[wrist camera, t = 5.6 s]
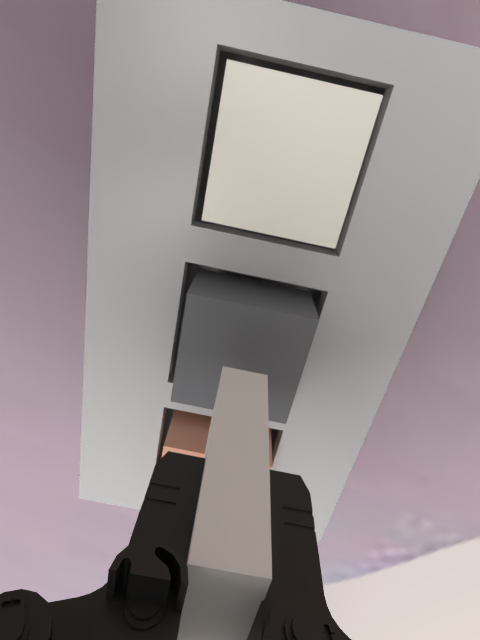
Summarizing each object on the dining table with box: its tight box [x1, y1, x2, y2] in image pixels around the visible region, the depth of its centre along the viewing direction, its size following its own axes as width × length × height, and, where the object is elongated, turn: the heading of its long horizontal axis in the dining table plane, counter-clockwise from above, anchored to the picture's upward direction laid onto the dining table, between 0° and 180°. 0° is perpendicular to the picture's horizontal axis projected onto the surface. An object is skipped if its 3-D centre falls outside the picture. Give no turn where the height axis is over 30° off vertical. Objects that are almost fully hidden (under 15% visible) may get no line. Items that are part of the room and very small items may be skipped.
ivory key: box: [202, 59, 383, 249], centre depth 14 cm, size 5×5×3 cm
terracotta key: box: [162, 409, 272, 470], centre depth 20 cm, size 5×5×3 cm
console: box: [79, 0, 480, 543], centre depth 19 cm, size 24×14×5 cm, turn 168°
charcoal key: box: [170, 268, 319, 424], centre depth 17 cm, size 5×5×3 cm
